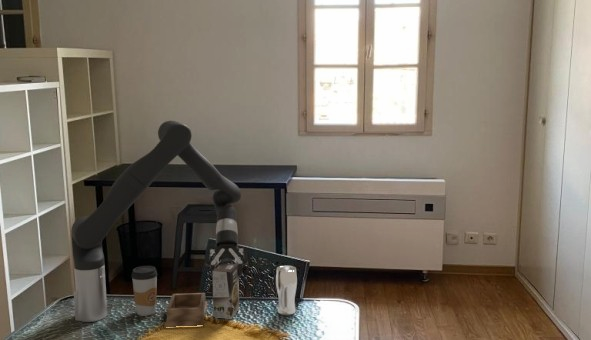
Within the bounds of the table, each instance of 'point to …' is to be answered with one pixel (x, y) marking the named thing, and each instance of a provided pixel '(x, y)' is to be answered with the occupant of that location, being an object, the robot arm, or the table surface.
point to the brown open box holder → (186, 310)
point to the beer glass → (286, 289)
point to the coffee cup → (145, 289)
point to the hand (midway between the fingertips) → (226, 276)
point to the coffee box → (225, 291)
